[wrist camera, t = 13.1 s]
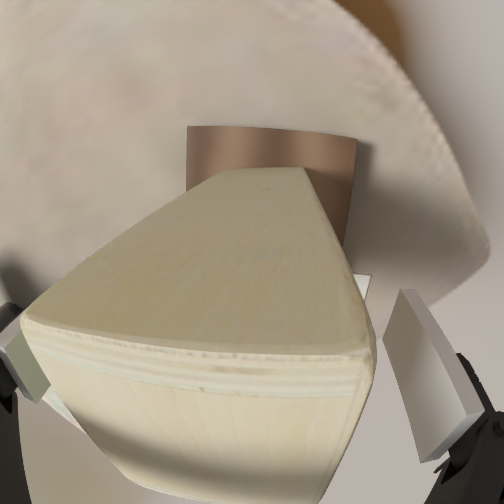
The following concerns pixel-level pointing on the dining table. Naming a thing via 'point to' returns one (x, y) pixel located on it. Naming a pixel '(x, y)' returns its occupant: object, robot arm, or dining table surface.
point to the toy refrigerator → (216, 343)
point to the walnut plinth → (278, 160)
